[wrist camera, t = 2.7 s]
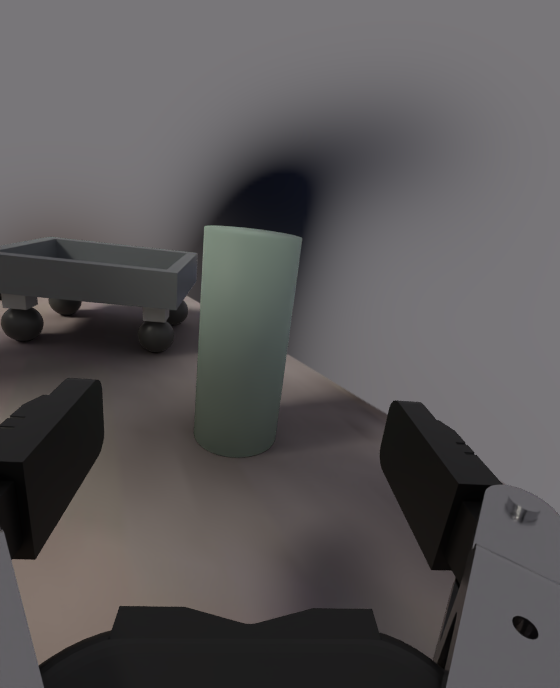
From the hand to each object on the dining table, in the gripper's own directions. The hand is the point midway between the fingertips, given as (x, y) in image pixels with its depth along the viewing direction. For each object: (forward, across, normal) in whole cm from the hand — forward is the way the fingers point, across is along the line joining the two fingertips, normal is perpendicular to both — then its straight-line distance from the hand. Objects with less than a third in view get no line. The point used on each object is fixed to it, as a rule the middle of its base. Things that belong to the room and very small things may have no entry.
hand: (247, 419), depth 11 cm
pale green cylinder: (+11, 0, +8) cm, 14 cm away
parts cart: (+27, +13, +7) cm, 31 cm away
